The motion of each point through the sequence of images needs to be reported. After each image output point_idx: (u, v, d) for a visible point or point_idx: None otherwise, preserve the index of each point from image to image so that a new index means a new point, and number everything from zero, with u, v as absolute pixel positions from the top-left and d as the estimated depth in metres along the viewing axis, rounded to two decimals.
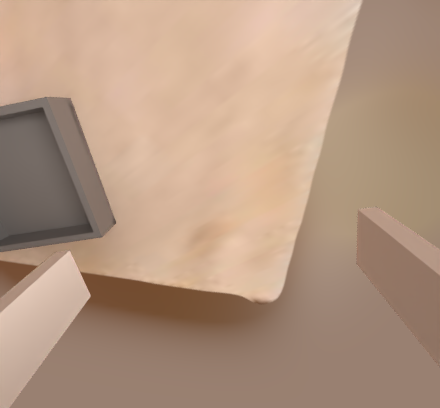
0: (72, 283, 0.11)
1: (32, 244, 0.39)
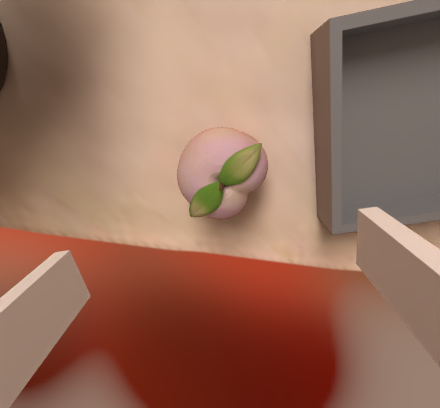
0: (72, 283, 0.11)
1: None
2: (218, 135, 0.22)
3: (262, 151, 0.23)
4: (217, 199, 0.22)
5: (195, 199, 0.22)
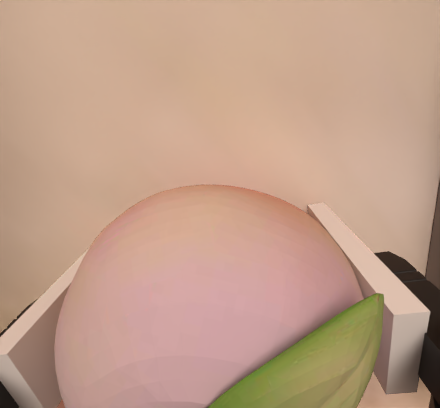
0: None
1: None
2: (187, 243, 0.05)
3: (354, 282, 0.06)
4: None
5: None
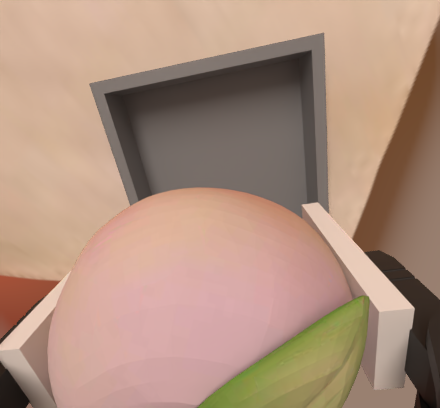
0: None
1: (322, 172, 0.24)
2: (178, 246, 0.05)
3: (344, 284, 0.06)
4: None
5: None
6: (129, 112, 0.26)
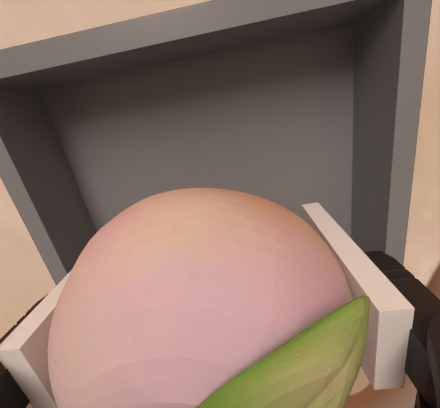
0: None
1: (396, 232, 0.13)
2: (178, 247, 0.05)
3: (344, 284, 0.06)
4: None
5: None
6: (55, 119, 0.15)
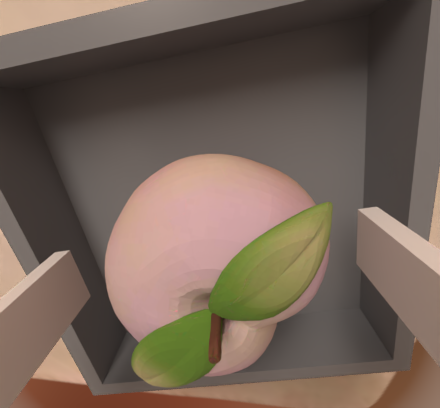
0: (72, 283, 0.11)
1: None
2: (207, 177, 0.08)
3: None
4: (203, 361, 0.08)
5: (142, 357, 0.08)
6: (41, 120, 0.14)
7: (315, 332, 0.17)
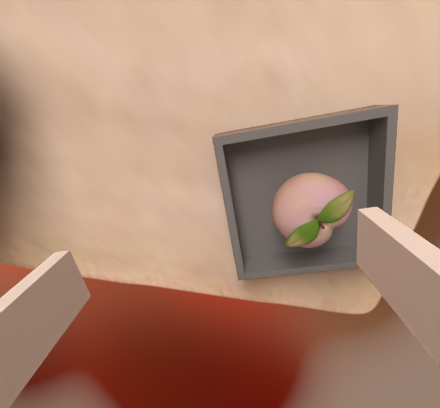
0: (72, 283, 0.11)
1: (387, 205, 0.30)
2: (317, 181, 0.26)
3: None
4: (314, 234, 0.27)
5: (295, 233, 0.27)
6: (228, 153, 0.33)
7: (344, 252, 0.35)
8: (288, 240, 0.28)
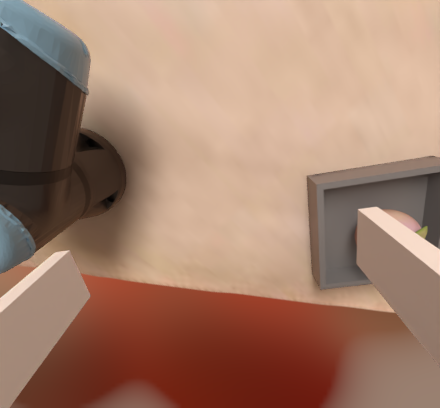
0: (72, 283, 0.11)
1: None
2: (399, 219, 0.36)
3: None
4: None
5: None
6: None
7: None
8: None
